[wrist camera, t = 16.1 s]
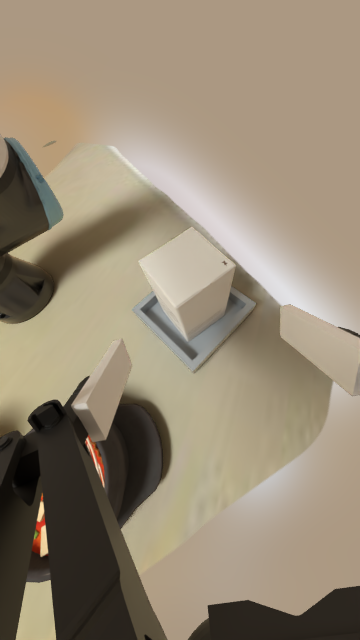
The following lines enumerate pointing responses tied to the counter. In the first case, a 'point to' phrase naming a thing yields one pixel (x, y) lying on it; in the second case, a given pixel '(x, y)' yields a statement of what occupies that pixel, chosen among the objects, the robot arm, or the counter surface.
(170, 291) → the supplement box
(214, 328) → the tray
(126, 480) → the casserole
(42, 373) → the counter surface
